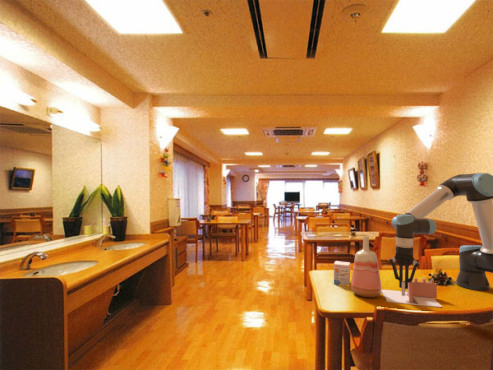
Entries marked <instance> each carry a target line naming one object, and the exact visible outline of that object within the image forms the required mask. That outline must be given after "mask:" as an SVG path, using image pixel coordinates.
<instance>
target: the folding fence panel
mask: <svg viewBox="0 0 493 370" xmlns="http://www.w3.org/2000/svg"><path fill="white" fill-rule="evenodd" d="M407 292H408V297H409V302H410V303H413V288H412V282H408V289H407Z"/></svg>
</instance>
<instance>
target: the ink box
mask: <svg viewBox="0 0 493 370" xmlns="http://www.w3.org/2000/svg"><path fill="white" fill-rule="evenodd" d="M333 284H334V285H337V284H341V285H340V286H346V285H349V286H351V262H349V261H340V260H335V261H334V262H333Z"/></svg>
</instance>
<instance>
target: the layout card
mask: <svg viewBox="0 0 493 370" xmlns="http://www.w3.org/2000/svg"><path fill="white" fill-rule="evenodd" d="M381 294H382V295H383V297H384V299H385V300H386V303H395V304H405V305H412V306H413V305H415V306H420V307H421V306H422V307H433V308H440V307H442V308H443V306H442V305H441V303H439V302H438V301H437V299H436V298H431V297H421V296H413V303H410V302H409V297H408V291H405V296H402V290H401V291H400V290H393V289H392V290H390V289H382V292H381Z"/></svg>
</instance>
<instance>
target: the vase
mask: <svg viewBox="0 0 493 370" xmlns="http://www.w3.org/2000/svg"><path fill="white" fill-rule="evenodd" d="M362 238H363V239H362V249H360V250H358V251H356V253H354V254H355V256H354V260H353V261H354V262H353V269H352V276H351V280H350V289H351V291H352V292H353V293H354V294H355V295H357V296H358V297H359V296H360V297H362V298H369V299H370V298H371V299H372V298H373V299H374V298H377V297H379V296H381V294H382V282H381V276H380V275H381V274H380V269H379V263H378V255H377V254H376V252H374V251H371V249H370V237H369V236H368V235H367V236H366V235H363V236H362Z"/></svg>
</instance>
